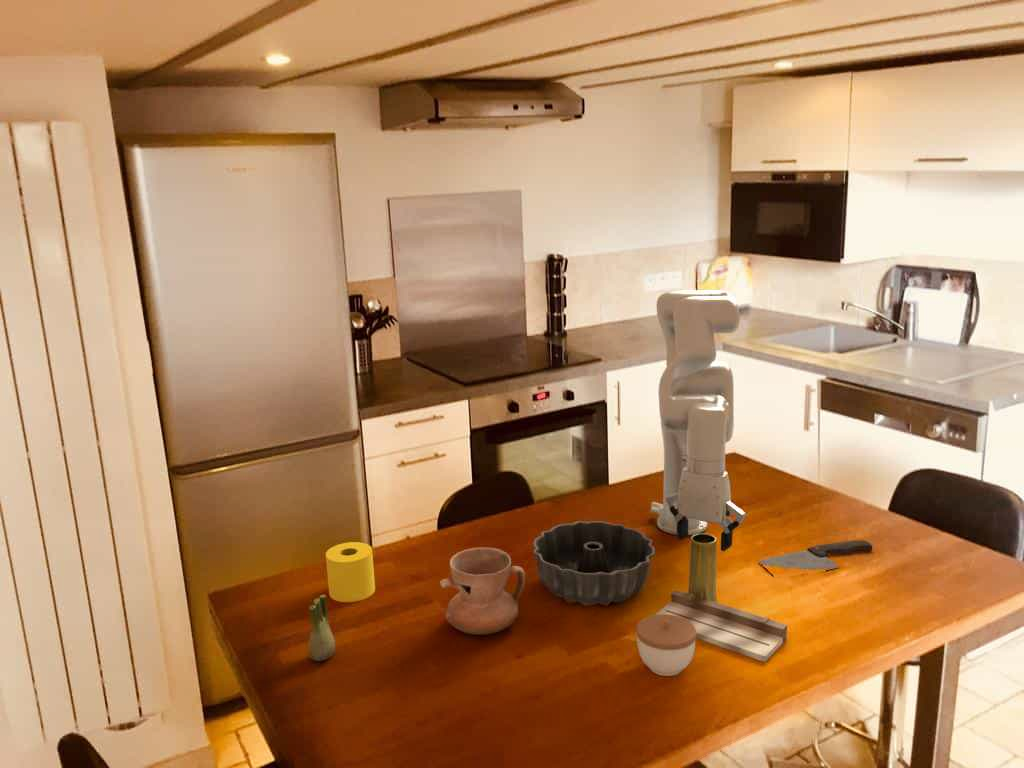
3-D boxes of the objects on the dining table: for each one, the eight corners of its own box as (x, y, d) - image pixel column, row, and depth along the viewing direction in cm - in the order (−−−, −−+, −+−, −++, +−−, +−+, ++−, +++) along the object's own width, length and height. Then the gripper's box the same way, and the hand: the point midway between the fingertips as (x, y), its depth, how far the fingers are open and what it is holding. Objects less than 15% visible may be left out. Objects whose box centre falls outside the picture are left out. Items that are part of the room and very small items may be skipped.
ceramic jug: (452, 650, 166) (448, 583, 163) (433, 615, 179) (430, 552, 176) (539, 632, 172) (537, 566, 168) (515, 599, 185) (513, 537, 181)
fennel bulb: (326, 646, 169) (321, 590, 166) (343, 654, 166) (338, 598, 163) (302, 659, 164) (297, 602, 162) (319, 668, 161) (313, 610, 158)
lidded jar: (682, 690, 151) (683, 642, 149) (626, 673, 157) (626, 626, 155) (703, 660, 160) (705, 614, 158) (650, 645, 166) (650, 601, 163)
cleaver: (858, 543, 207) (858, 535, 207) (887, 559, 198) (888, 551, 198) (753, 566, 198) (753, 557, 197) (779, 584, 189) (779, 575, 188)
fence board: (651, 622, 174) (651, 608, 173) (675, 602, 181) (676, 588, 180) (765, 662, 159) (765, 646, 158) (786, 638, 166) (787, 623, 166)
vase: (718, 595, 183) (720, 534, 180) (715, 609, 178) (717, 546, 174) (689, 592, 185) (690, 530, 182) (685, 605, 180) (686, 542, 176)
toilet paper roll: (384, 589, 191) (381, 550, 189) (348, 606, 184) (344, 566, 181) (356, 576, 198) (353, 538, 195) (320, 592, 190) (316, 553, 188)
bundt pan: (680, 594, 185) (680, 551, 183) (580, 630, 172) (580, 585, 169) (604, 550, 207) (604, 511, 204) (511, 580, 194) (510, 539, 191)
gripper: (658, 461, 177) (657, 539, 180) (737, 477, 166) (735, 560, 170) (676, 452, 182) (675, 528, 186) (754, 467, 171) (751, 547, 175)
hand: (703, 543), depth 178 cm, fingers open, 9 cm apart
